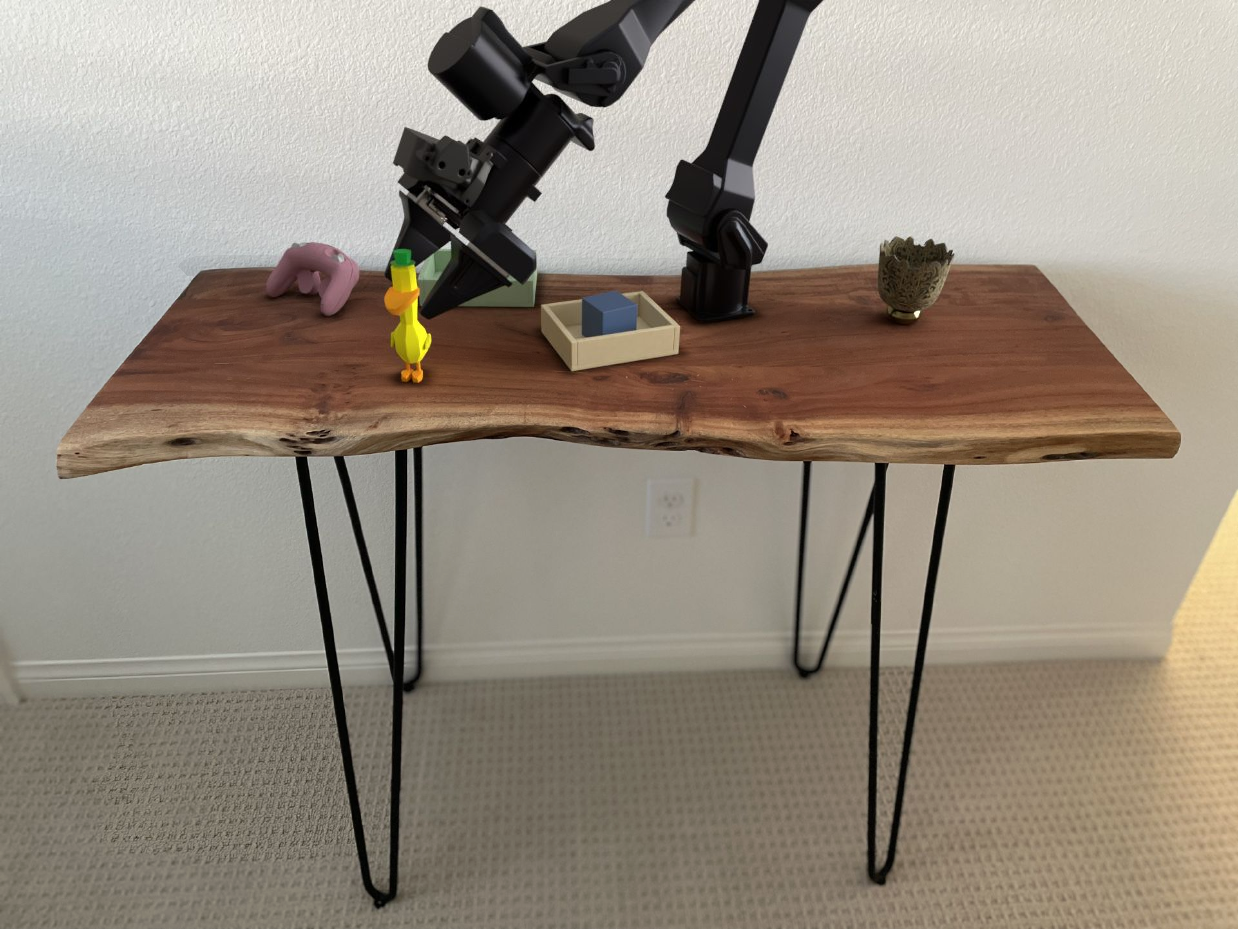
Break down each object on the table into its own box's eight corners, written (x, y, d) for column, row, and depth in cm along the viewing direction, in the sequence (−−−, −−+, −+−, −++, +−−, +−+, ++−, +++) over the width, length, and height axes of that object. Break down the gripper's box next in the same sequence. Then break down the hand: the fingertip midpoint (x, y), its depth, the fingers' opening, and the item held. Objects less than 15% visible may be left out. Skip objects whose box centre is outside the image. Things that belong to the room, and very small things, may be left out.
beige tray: (641, 317, 99) (642, 290, 97) (678, 354, 92) (680, 326, 90) (541, 331, 95) (540, 304, 94) (571, 371, 88) (571, 342, 87)
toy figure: (421, 397, 83) (407, 269, 77) (382, 394, 84) (365, 267, 77) (439, 362, 89) (428, 241, 82) (403, 360, 89) (389, 239, 83)
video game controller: (356, 321, 100) (370, 256, 98) (324, 316, 96) (339, 249, 94) (292, 299, 104) (305, 237, 103) (259, 294, 100) (272, 229, 99)
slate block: (615, 326, 96) (616, 290, 93) (636, 341, 93) (637, 304, 91) (581, 334, 94) (581, 297, 92) (602, 350, 91) (602, 312, 89)
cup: (861, 326, 98) (874, 253, 94) (872, 300, 104) (885, 231, 100) (933, 339, 96) (951, 265, 92) (941, 312, 102) (958, 242, 98)
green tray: (537, 274, 108) (536, 249, 106) (533, 307, 100) (533, 280, 99) (431, 273, 107) (428, 248, 106) (419, 305, 100) (417, 279, 98)
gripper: (410, 70, 82) (302, 210, 83) (496, 117, 68) (366, 284, 70) (496, 152, 89) (396, 279, 91) (589, 208, 76) (470, 357, 77)
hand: (405, 297), depth 82 cm, fingers open, 9 cm apart
